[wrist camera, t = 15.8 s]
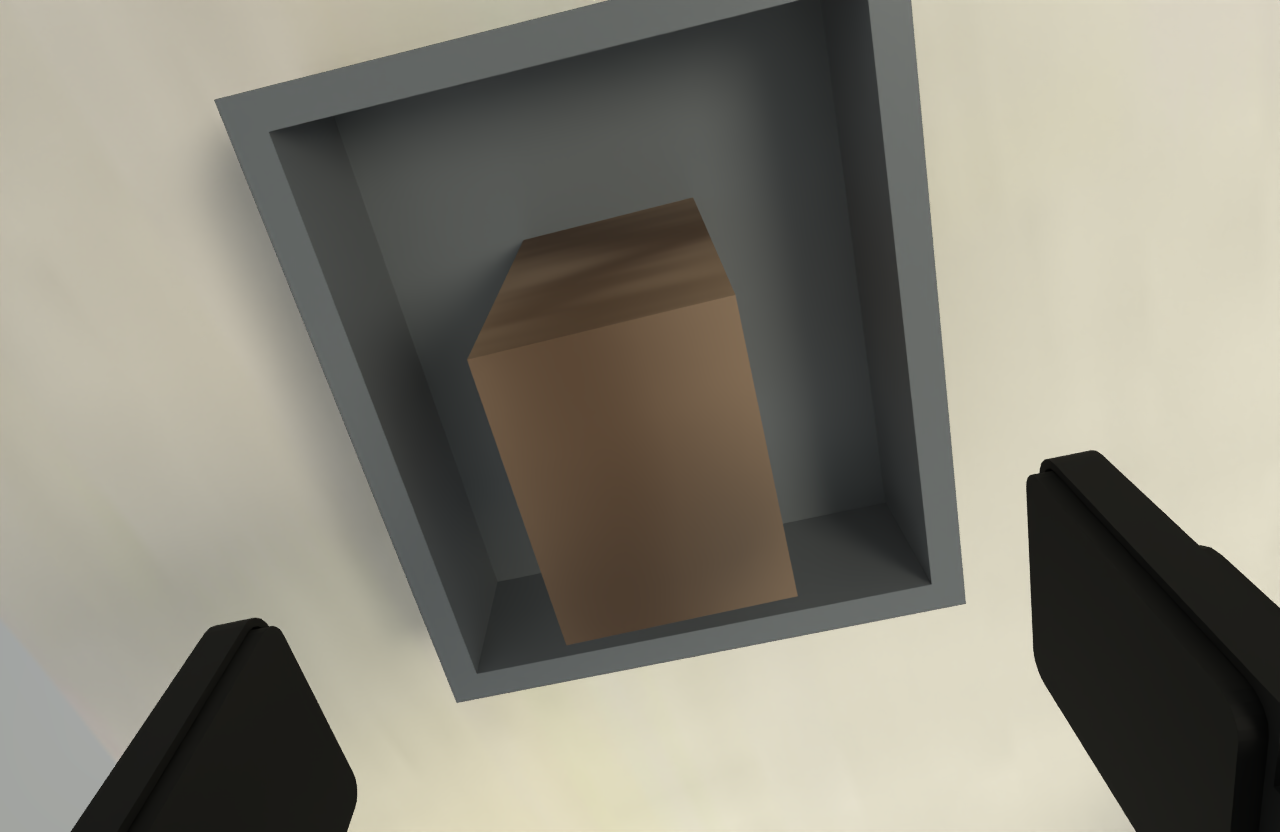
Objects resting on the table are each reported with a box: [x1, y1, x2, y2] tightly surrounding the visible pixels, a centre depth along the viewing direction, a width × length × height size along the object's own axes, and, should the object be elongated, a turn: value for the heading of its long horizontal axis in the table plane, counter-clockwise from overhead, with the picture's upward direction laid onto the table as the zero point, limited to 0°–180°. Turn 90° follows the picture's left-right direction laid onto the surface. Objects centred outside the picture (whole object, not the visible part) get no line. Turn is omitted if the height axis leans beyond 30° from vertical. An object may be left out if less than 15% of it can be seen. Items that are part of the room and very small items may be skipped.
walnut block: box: [467, 198, 798, 645], centre depth 19 cm, size 4×6×9 cm
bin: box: [214, 0, 966, 703], centre depth 22 cm, size 14×16×5 cm
